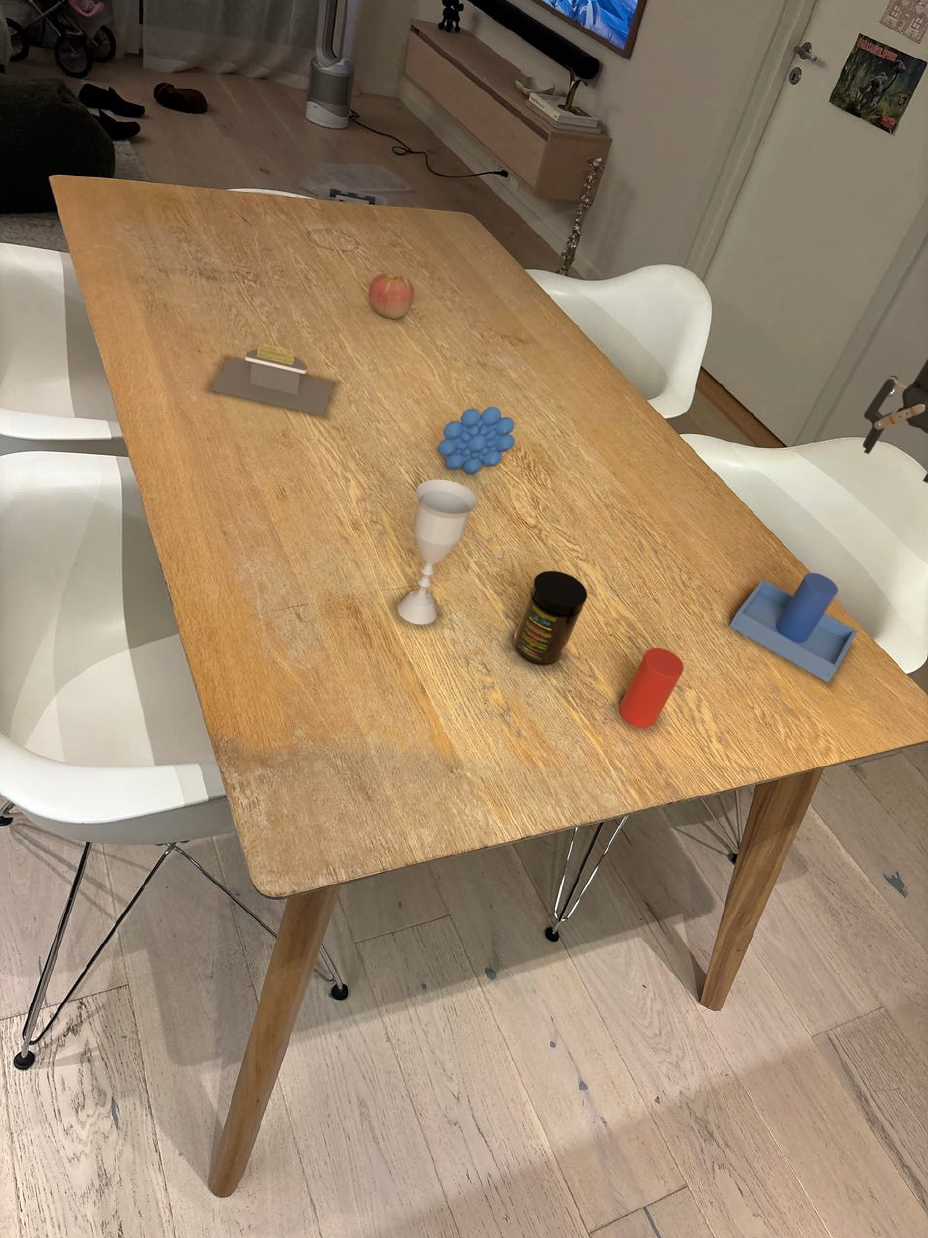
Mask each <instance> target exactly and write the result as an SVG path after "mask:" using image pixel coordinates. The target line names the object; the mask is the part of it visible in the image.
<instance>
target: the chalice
mask: <svg viewBox="0 0 928 1238" xmlns="http://www.w3.org/2000/svg"><path fill="white" fill-rule="evenodd" d="M415 492H416V498H417V501H418V502H417V505H416V510H415V514H414V517H413V521H412V522H413V523H412V530H413V534H414V535H413V536H414V541H415V545H416V548H417V549H418V553H419V555H420V556H419V557H420V558H421V559H422V560H423V561H425V563H424V565H423V567H421V568H420V572H421V574H422V576H421V578H418V580H417V584H418V586H419V587H418V588H419V589H418V590H417V589H416V590H412V591H410V592H409V593H407V595H406V596H405V597H404V598H403V599H402V600H401V602H399V603H398V606H397V612H398V614H399V615H400V617H401V618H402V619H404V621H406V622H408V623H411V624H415V625H428V624H430V623H433V622H434V621H435V620H436V619H437V610H436V606H435V600H434V599H433V597H432V596H431V595H430V594H429V593H428V592H427V590H428V588H430V587H431V586H432V581H431V576H432V575H434V574H435V570H434V564H438V563H440V562H442V561H443V560H444V559H445V558H446V557H447V556H448V555H449V554H450V553H452V551H454V550H455V548H456V547H457V546H458V544H459V543H460V542H461V541H462V539H463V537H464V534H465V530H466V527H467V524H468V520H469V516H470V513H472V511H473V510H474V509H475V508H476V506H477V504H478V500H477V496H476V495H475V493H473V491H472V490H471V489H469V488H468V487H467V486H465V485H463V484H460V483H458V482H455V481H451V480H448V479H447V480H446V479H430V480H427V481H424V482H421V483H420V484H419V485H418V486H417V487H416V490H415Z"/></svg>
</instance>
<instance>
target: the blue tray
mask: <svg viewBox="0 0 928 1238" xmlns="http://www.w3.org/2000/svg"><path fill="white" fill-rule="evenodd" d="M793 595H794V594H791V593H789V592H787V591H785V590H783V589H782V588H780V587H778V586H776V585H775V584H773V583H771V582H769V581H767V580H765V579H763V578H762V579H761V580H760V582H758V585H756V587H755V588H754V589H753V591H752V592H751V594H749V596H748V597H747V598H746V600H745V601H744V603H743V604H742V605H741V606H740V608H739V609H738V610H737V612H736V614H735V615H734V617H733V619H732V621H731V622H730V624H729V627H730V628H732V629H734V631H737V632H738V633H740V634H742V635H744V636H746V637H747V638H749V639H750V640H752V641H754V642H756V643H757V644H759V645H761V646H763V647H764V648H766V649H768V650H769V651H771V652H773V653H775V654H777V655H778V656H780V657H782V658H784V659H786V660H787V661H789V662H791V663H792V664H795V666H798V667H800V668H801V669H803V670H805V671H806V672H808V673H810V674H812V675H814V676H815V677H817V678H819V679H821V680H822V681H824V682H825V683H826V684H827V683H829V681H830V680H831V679H832V678H833V676H834V675H835V673H836V672H837V670H838V668H839V667H840V665H841V663H842V661H843V659H844V658H845V656H846V654H847V652H848V650H849V648H850V647H851V644H852V643H853V641H854V639H855V637H856V635H857V633H858V630H856V629H854V628H852V627H851V626H849V625H847V624H846V623H843V622H841V621H840V620H838V619H836V618H835V617H833V616H832V615H829V614H827V613H826V612H825V613H824V614H823V616H822V618H821V619H820V621H819V622H818V624H817V625H816V627H815V628H814V630H813V631H812V633H811V635H810V636H809V638H808V639H807V641H805V642H802V643H797V642H794V641H792V640H790V639H789V638H787V637H785V636H783V635H782V634H780V633H779V632H778V630H777V628H776V623H777V621H778V620H779V618H780V616H781V615H782V613H783V611H784V610H785V608H786V607H787V605H788V603H789V602H790V600H791V598H792V597H793Z"/></svg>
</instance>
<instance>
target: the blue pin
mask: <svg viewBox="0 0 928 1238" xmlns="http://www.w3.org/2000/svg"><path fill="white" fill-rule="evenodd" d="M838 592H839V589H838V586H837V584H836V583H835V582H834V581H833V580H831V579H830V578H829V577H827V576H825V575H823V574H820V573H817V572H808V573H806V574H805V575H804V577H803V578H802V580H801V582H800V583H799V585H798V586H797V587H796V590H795V592H794V593H793V594H792V595H793V597H792V598H791V600H790V602H789V603H788V605H787V607H786V608H785V610H784V611H783V613H782V615H781V616H780V618H779V620H778V621H777V623H776V628H777V630H778V632H779V633H780V634H782V635H783V636H785V637H787V638H789V639H790V640H792V641H794V642H797V643H802V642H805V641H807V639H808V638H809V636H810V635H811V633H812V631H813V630H814V628H815V627H816V625H817V624H818V622H819V621H820V619H821V618H822V616H823V614H824V613H825V614H826V611H827V610H828V608H829V607H830V606H831V603H832V602H833V600H834V599H835V597H836V596H837V594H838Z"/></svg>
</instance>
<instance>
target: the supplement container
mask: <svg viewBox="0 0 928 1238" xmlns="http://www.w3.org/2000/svg"><path fill="white" fill-rule="evenodd" d="M587 598H588V591H587V589H586V587H585V585H583V583H582V582H581V581H580V580H578V579H577V578H576V577H574V576H572V575H570V574H568V573H565V572H563V571H558V570H546V571H542V572H540V573H538V574H537V575H536V576H535V577H534V579H533V583H532V585H531V587H530V591H529V594H528V597H527V600H526V602H525V604H524V608H523V611H522V614H521V616H520V619H519V622H518V625H517V628H516V631H515V632H514V635H513V640H512V641H513V647H514V650H515V652H516V653H517V654H518V656H519V657H520V658H521V659H523V660H524V661H525V662H527V663H529V664H532V665H534V666H539V667H549V666H552V665H555V664H557V663H558V662H559V661H560V660H562V658H563V656H564V653H565V651H566V649H567V647H568V644H569V642H570V639H571V637H572V634H573V633H574V630H575V627H576V625H577V622H578V620H579V618H580V615H581V613H582V611H583V609H584V607H585V603H586V601H587Z"/></svg>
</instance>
